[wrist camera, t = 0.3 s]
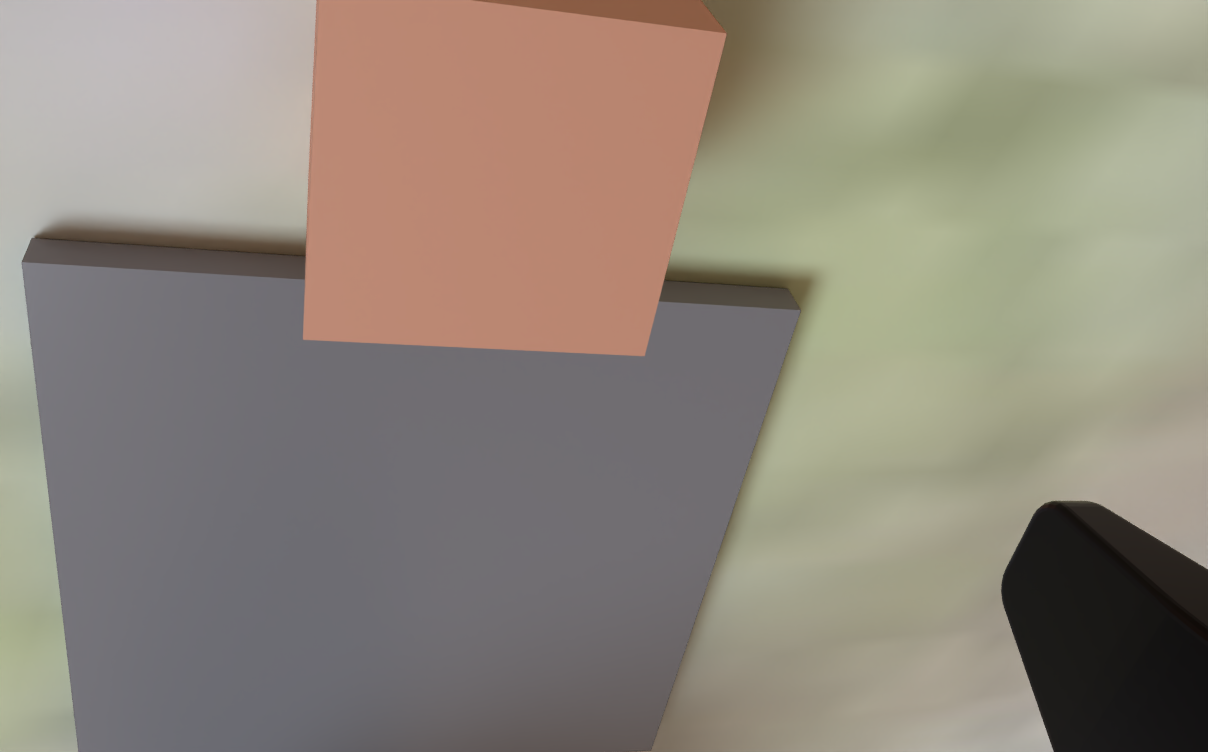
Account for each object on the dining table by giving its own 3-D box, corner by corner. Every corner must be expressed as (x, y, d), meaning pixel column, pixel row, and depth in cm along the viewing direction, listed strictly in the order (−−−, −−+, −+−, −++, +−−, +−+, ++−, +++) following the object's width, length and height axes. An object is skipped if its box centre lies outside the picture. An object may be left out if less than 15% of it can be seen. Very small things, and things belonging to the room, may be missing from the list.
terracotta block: (585, 201, 21) (644, 356, 17) (308, 178, 20) (302, 340, 16) (641, -76, 18) (727, 32, 14) (322, -125, 17) (319, -20, 13)
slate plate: (644, 725, 31) (650, 750, 30) (87, 749, 27) (81, 778, 26) (788, 288, 23) (800, 310, 22) (31, 238, 19) (21, 261, 19)
